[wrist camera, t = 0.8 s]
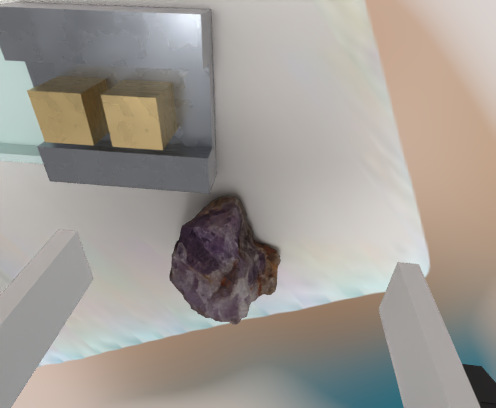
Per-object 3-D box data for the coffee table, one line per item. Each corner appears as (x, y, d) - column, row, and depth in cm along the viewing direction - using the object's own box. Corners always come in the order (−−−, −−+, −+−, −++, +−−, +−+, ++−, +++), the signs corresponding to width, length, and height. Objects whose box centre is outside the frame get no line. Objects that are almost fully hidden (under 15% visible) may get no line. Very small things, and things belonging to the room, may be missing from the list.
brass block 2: (132, 126, 29) (112, 146, 26) (123, 79, 27) (100, 94, 24) (177, 129, 29) (163, 150, 26) (172, 82, 27) (156, 97, 23)
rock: (254, 181, 34) (169, 206, 37) (242, 221, 27) (136, 249, 29) (288, 271, 39) (209, 288, 41) (285, 328, 31) (189, 343, 34)
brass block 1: (72, 123, 30) (45, 142, 26) (58, 76, 27) (26, 90, 24) (115, 125, 29) (93, 145, 26) (105, 78, 27) (80, 93, 24)
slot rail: (70, 163, 34) (49, 181, 31) (18, 1, 26) (-16, 5, 23) (216, 173, 33) (209, 193, 30) (210, 9, 25) (200, 14, 22)
